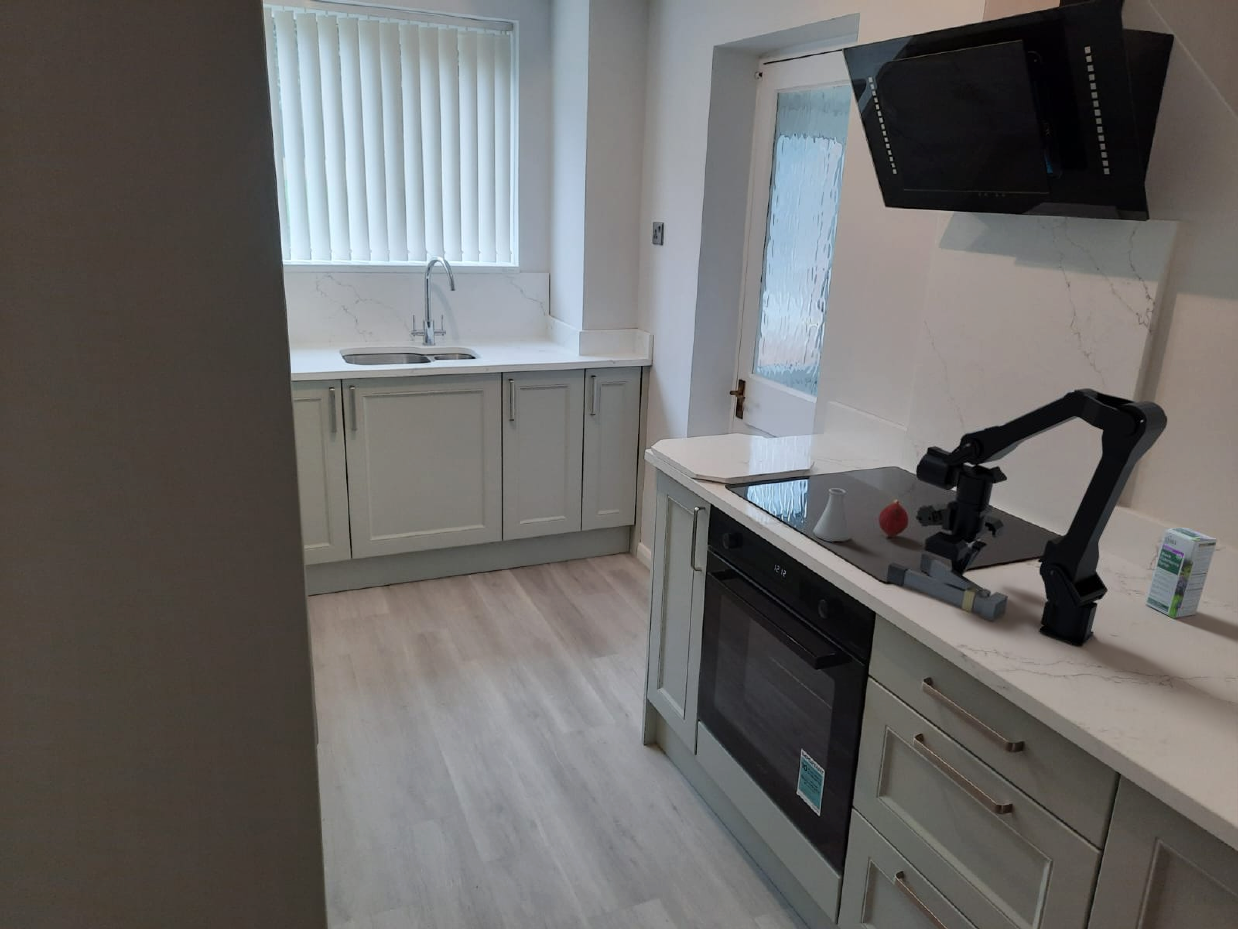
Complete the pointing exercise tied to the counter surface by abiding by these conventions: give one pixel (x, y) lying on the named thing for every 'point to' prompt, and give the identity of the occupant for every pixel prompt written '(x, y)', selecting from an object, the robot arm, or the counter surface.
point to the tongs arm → (948, 574)
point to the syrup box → (1180, 572)
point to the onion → (893, 519)
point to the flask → (833, 519)
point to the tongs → (949, 592)
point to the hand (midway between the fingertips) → (956, 578)
